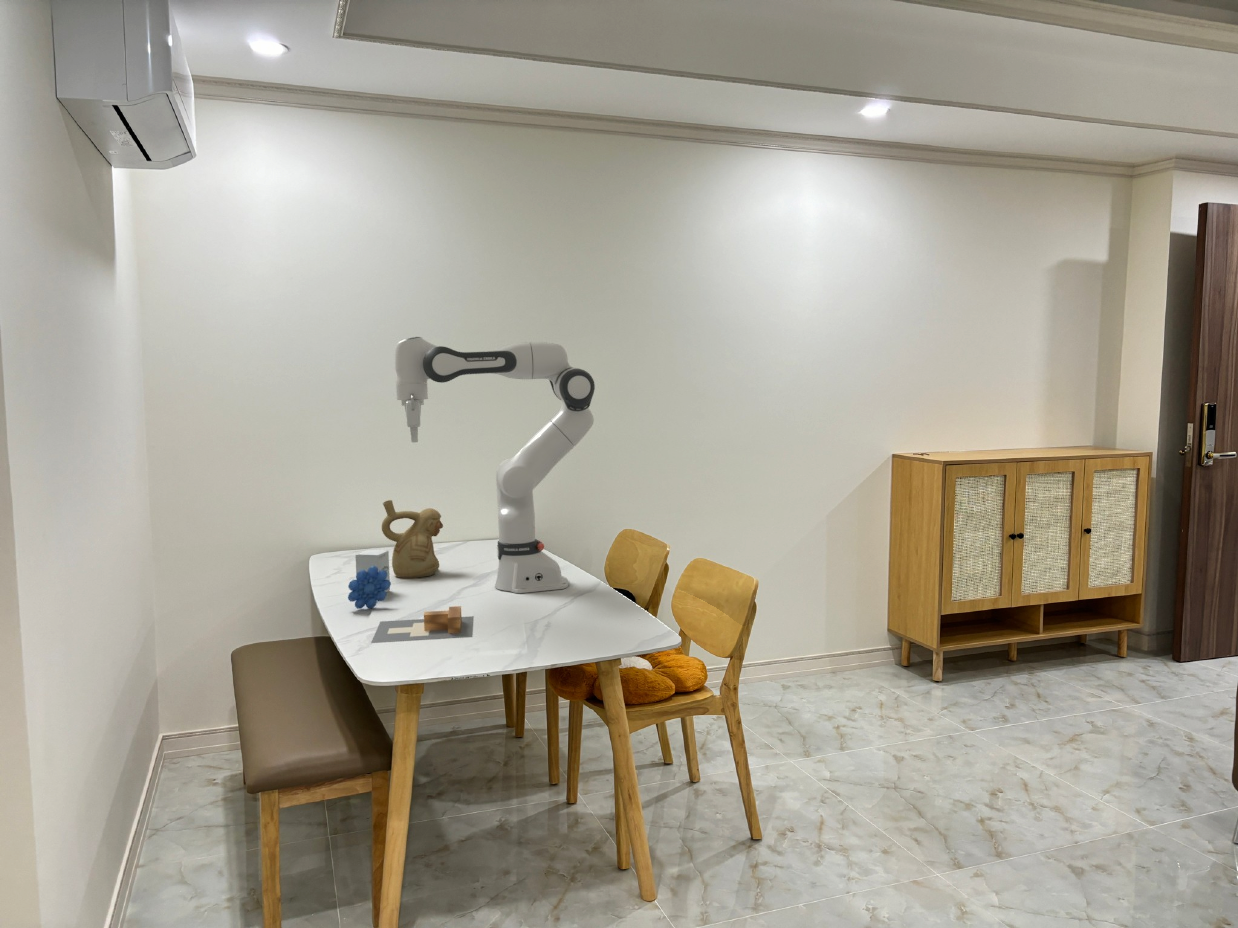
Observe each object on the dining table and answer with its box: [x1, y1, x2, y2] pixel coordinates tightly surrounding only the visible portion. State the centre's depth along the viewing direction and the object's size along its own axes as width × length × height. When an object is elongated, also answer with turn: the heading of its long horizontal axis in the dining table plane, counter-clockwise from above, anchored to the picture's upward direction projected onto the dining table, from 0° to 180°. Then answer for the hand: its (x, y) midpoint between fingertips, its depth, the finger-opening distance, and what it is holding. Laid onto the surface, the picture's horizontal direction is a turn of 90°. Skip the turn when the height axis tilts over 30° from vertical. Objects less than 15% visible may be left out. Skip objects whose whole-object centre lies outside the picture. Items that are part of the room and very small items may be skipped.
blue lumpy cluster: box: [347, 566, 392, 610], centre depth 239 cm, size 12×7×12 cm, turn 110°
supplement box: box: [355, 549, 391, 593], centre depth 255 cm, size 7×7×13 cm
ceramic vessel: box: [381, 499, 444, 579], centre depth 278 cm, size 17×20×25 cm
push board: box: [370, 615, 474, 644], centre depth 216 cm, size 24×18×1 cm
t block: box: [423, 605, 462, 633], centre depth 216 cm, size 9×10×4 cm
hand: (414, 441), depth 250 cm, fingers open, 8 cm apart
